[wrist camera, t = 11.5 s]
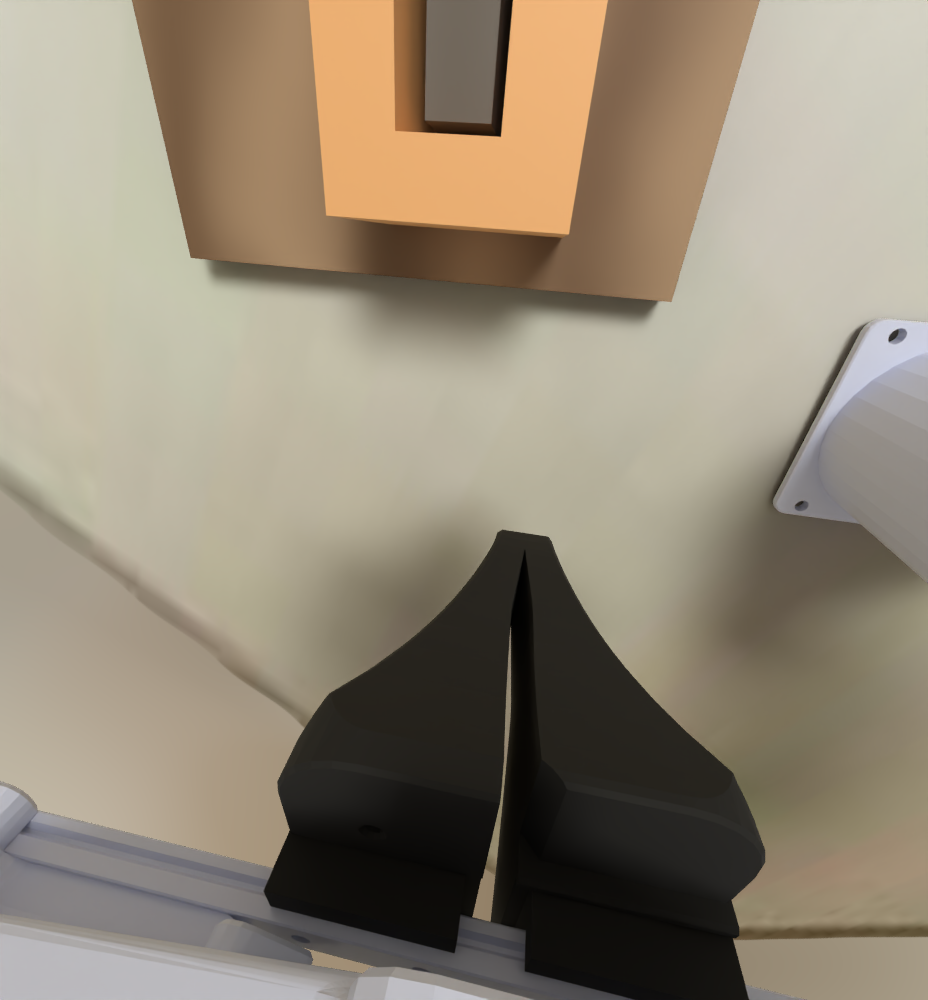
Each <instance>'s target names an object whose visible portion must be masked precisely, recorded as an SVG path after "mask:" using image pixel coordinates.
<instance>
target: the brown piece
mask: <svg viewBox="0 0 928 1000" xmlns="http://www.w3.org/2000/svg"><path fill="white" fill-rule="evenodd" d="M759 1H760V0H608V3H607V9H606V15H605V21H604V27H603V33H602V39H601V45H600V51H599V57H598V62H597V68H596V74H595V80H594V86H593V92H592V98H591V104H590V110H589V116H588V122H587V128H586V134H585V140H584V146H583V152H582V158H581V164H580V170H579V176H578V182H577V188H576V194H575V200H574V206H573V212H572V218H571V224H570V230H569V235H567V236H565V237H563V238H558V237H545V236H533V235H520V234H507V233H495V232H482V231H469V230H457V229H444V228H431V227H418V226H406V225H393V224H384V223H377V222H369V221H362V220H355V219H348V218H341V217H333V216H326V207H325V194H324V182H323V170H322V158H321V145H320V133H319V121H318V109H317V96H316V84H315V72H314V60H313V47H312V35H311V23H310V11H309V0H132V2H133V7H134V11H135V16H136V20H137V24H138V29H139V33H140V37H141V42H142V46H143V51H144V55H145V59H146V64H147V68H148V72H149V77H150V81H151V86H152V90H153V94H154V99H155V103H156V107H157V112H158V116H159V121H160V125H161V129H162V134H163V138H164V142H165V147H166V151H167V156H168V160H169V164H170V169H171V173H172V177H173V182H174V186H175V191H176V195H177V199H178V204H179V208H180V212H181V217H182V221H183V226H184V230H185V234H186V239H187V243H188V248H189V252H190V256H191V258H198V259H209V260H220V261H231V262H242V263H253V264H264V265H274V266H285V267H296V268H307V269H318V270H329V271H340V272H351V273H362V274H373V275H384V276H394V277H405V278H416V279H427V280H438V281H449V282H460V283H471V284H482V285H493V286H504V287H514V288H525V289H536V290H547V291H558V292H569V293H580V294H591V295H602V296H613V297H623V298H634V299H645V300H656V301H667V302H671V301H672V298H673V294H674V291H675V288H676V284H677V281H678V277H679V274H680V271H681V267H682V264H683V260H684V257H685V254H686V250H687V247H688V243H689V240H690V236H691V233H692V230H693V226H694V223H695V219H696V216H697V213H698V209H699V206H700V202H701V199H702V196H703V192H704V189H705V185H706V182H707V178H708V175H709V172H710V168H711V165H712V161H713V158H714V155H715V151H716V148H717V144H718V141H719V138H720V134H721V131H722V127H723V124H724V120H725V117H726V114H727V110H728V107H729V103H730V100H731V97H732V93H733V90H734V86H735V83H736V80H737V76H738V73H739V69H740V66H741V62H742V59H743V56H744V52H745V49H746V45H747V42H748V39H749V35H750V32H751V28H752V25H753V22H754V18H755V15H756V11H757V8H758V4H759ZM512 7H513V0H427V19H426V80H425V121H426V122H427V123H428V124H429V125H430V126H431V127H432V128H433V129H434V130H435V131H436V132H437V133H441V134H459V135H477V136H495V137H501V132H502V120H503V109H504V98H505V86H506V75H507V64H508V52H509V41H510V30H511V18H512Z"/></svg>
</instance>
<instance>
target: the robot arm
mask: <svg viewBox="0 0 928 1000" xmlns="http://www.w3.org/2000/svg"><path fill="white" fill-rule="evenodd" d="M896 329H898V330H899V333H898V336H897V337H896V338H895V339H894V340H892V341H890V342H889V341H888V338H889V335H890V334H891V333H892V332H893V331H895V330H896ZM800 501H804V502H803V503H802V504H801V505H800V506H795V505H796V504H797V503H798V502H800ZM773 506H774V507H775V508H776V509H777V510H778V511H779V512H781V513H785V514H792V515H799V516H806V517H814V518H821V519H828V520H836V521H843V522H850V523H857V524H861V525H862V526H863V527H864V528H866V529H867V530H868V531H869V532H870V533H871V534H872V535H873V536H875V537H876V538H877V539H878V540H879V541H880V542H881V543H883V544H884V545H885V546H886V547H887V548H888V549H889V550H890V551H892V552H893V553H894V554H895V555H896V556H897V557H898V558H900V559H901V560H902V561H903V562H904V563H905V564H906V565H907V566H909V567H910V568H911V569H912V570H913V571H914V572H915V573H916V574H918V575H919V576H920V577H921V578H922V579H923V580H924V581H926V582H927V583H928V322H920V321H909V320H898V319H887V318H880V319H875V320H873V321H871V322H869V323H868V324H867V325H865V326H864V328H863V329H862V330H861V332H860V333H859V335H858V337H857V339H856V341H855V343H854V345H853V347H852V349H851V351H850V353H849V355H848V357H847V358H846V360H845V362H844V364H843V366H842V368H841V370H840V372H839V374H838V376H837V378H836V380H835V382H834V383H833V385H832V387H831V389H830V391H829V393H828V395H827V397H826V399H825V401H824V403H823V405H822V407H821V408H820V410H819V412H818V414H817V416H816V418H815V420H814V422H813V424H812V426H811V428H810V430H809V432H808V433H807V435H806V437H805V439H804V441H803V443H802V445H801V447H800V449H799V451H798V453H797V455H796V457H795V458H794V460H793V462H792V464H791V466H790V468H789V470H788V472H787V474H786V476H785V478H784V480H783V482H782V484H781V485H780V487H779V489H778V491H777V493H776V495H775V497H774V499H773ZM510 628H511V720H510V732H509V743H508V754H507V765H506V775H505V786H504V796H503V806H502V817H501V827H500V837H499V847H498V857H497V866H496V876H495V885H494V895H493V905H492V914H491V922H489V921H485V920H481V919H477V918H473V917H472V916H473V912H474V907H475V903H476V899H477V894H478V889H479V885H480V881H481V878H483V874H484V869H485V865H486V861H487V857H488V852H489V848H490V844H491V839H492V835H493V831H494V826H495V822H496V818H497V813H498V809H499V805H500V798H501V788H502V776H503V763H504V736H505V709H506V687H507V668H508V651H509V636H510ZM278 793H279V796H280V800H281V803H282V806H283V809H284V813H285V816H286V819H287V822H288V825H289V829H290V831H289V833H288V836H287V838H286V841H285V843H284V845H283V847H282V849H281V852H280V854H279V856H278V859H277V861H276V863H275V865H274V868H270V867H266V866H262V865H258V864H254V863H250V862H246V861H242V860H238V859H234V858H229V857H226V856H222V855H217V854H213V853H209V852H205V851H201V850H197V849H193V848H189V847H185V846H181V845H177V844H172V843H169V842H165V841H161V840H157V839H153V838H148V837H144V836H140V835H136V834H132V833H128V832H124V831H120V830H116V829H112V828H108V827H104V826H100V825H96V824H92V823H87V822H84V821H80V820H75V819H71V818H67V817H63V816H59V815H55V814H51V813H47V812H43V811H38V810H37V805H36V804H35V802H34V801H33V800H32V799H31V798H30V797H29V796H28V795H27V794H26V793H25V792H23V791H22V790H21V789H19V788H17V787H15V786H13V785H10V784H7V783H4V782H1V781H0V1000H805V999H801V998H797V997H793V996H789V995H785V994H781V993H777V992H773V991H769V990H765V989H761V988H757V987H752V986H748V985H745V983H744V979H743V975H742V971H741V968H740V964H739V960H738V956H737V953H736V949H735V945H734V942H733V938H737V937H738V936H739V925H738V922H737V918H736V915H735V911H734V908H733V904H732V901H731V900H732V899H733V898H734V897H735V896H736V895H737V894H738V893H739V892H740V891H741V890H743V889H744V888H745V887H746V886H747V885H748V884H749V883H750V882H751V881H752V880H753V879H754V878H755V877H756V876H757V874H758V873H759V871H760V870H761V868H762V866H763V865H764V863H765V849H764V846H763V843H762V841H761V838H760V835H759V832H758V830H757V827H756V824H755V821H754V819H753V816H752V814H751V811H750V809H749V807H748V804H747V802H746V800H745V798H744V796H743V794H742V792H741V790H740V788H739V786H738V784H737V781H736V779H735V777H734V774H733V773H732V772H731V771H730V770H729V769H728V768H727V767H726V766H724V765H723V764H722V763H721V762H720V761H719V760H718V759H716V758H715V757H714V756H713V755H712V754H711V753H710V752H709V751H707V750H706V749H705V748H704V747H703V746H702V745H701V744H700V743H698V742H697V741H696V740H695V739H694V738H693V737H692V736H690V735H689V734H688V733H687V732H686V731H685V730H684V729H683V728H682V727H681V726H680V725H679V724H678V723H677V722H676V721H675V720H674V719H673V718H672V717H671V716H670V715H669V714H668V713H667V712H666V711H665V710H664V709H663V708H662V707H661V706H659V705H658V704H657V703H656V701H655V700H654V699H653V698H652V697H651V696H650V695H649V694H648V693H647V692H646V690H645V689H644V688H643V687H642V686H641V685H640V684H639V683H638V682H637V680H636V679H635V678H634V677H633V676H632V675H631V674H630V673H629V671H628V670H627V669H626V668H625V667H624V665H623V664H622V663H621V662H620V660H619V659H618V658H617V657H616V655H615V654H614V653H613V651H612V650H611V649H610V647H609V646H608V645H607V643H606V642H605V641H604V639H603V638H602V636H601V635H600V634H599V632H598V631H597V629H596V628H595V626H594V625H593V623H592V622H591V620H590V618H589V617H588V615H587V613H586V612H585V610H584V609H583V607H582V605H581V603H580V602H579V600H578V598H577V596H576V595H575V593H574V591H573V589H572V587H571V585H570V583H569V581H568V579H567V577H566V575H565V573H564V571H563V569H562V567H561V565H560V562H559V560H558V558H557V555H556V553H555V550H554V547H553V544H552V541H551V540H550V538H549V537H546V536H540V535H533V534H526V533H520V532H513V531H507V530H501V531H500V532H498V533H497V536H496V539H495V541H494V543H493V545H492V547H491V549H490V551H489V552H488V554H487V556H486V557H485V559H484V560H483V562H482V563H481V565H480V566H479V568H478V569H477V570H476V572H475V573H474V575H473V576H472V577H471V579H470V580H469V581H468V582H467V583H466V585H465V586H464V587H463V588H462V590H461V591H460V592H459V593H458V594H457V596H456V597H455V598H454V599H453V600H452V601H451V602H450V603H449V604H448V605H447V606H446V608H445V609H444V610H443V611H442V612H441V613H440V614H439V615H437V616H436V617H435V618H434V619H433V620H432V621H431V622H430V623H429V624H428V625H427V626H426V627H424V628H423V629H422V630H421V631H420V632H419V633H418V634H417V635H415V636H414V637H413V638H412V639H410V640H409V641H408V642H407V643H405V644H404V645H403V646H401V647H400V648H399V649H397V650H396V651H395V652H393V653H392V654H390V655H389V656H388V657H386V658H385V659H384V660H382V661H381V662H379V663H378V664H377V665H375V666H374V667H372V668H371V669H369V670H368V671H366V672H364V673H363V674H361V675H359V676H358V677H356V678H354V679H353V680H351V681H350V682H348V683H346V684H345V685H343V686H341V687H340V688H338V689H336V690H335V691H333V692H331V693H330V694H329V695H328V696H327V697H326V698H325V700H324V701H323V702H322V704H321V705H320V707H319V708H318V709H317V711H316V712H315V714H314V715H313V717H312V718H311V720H310V721H309V723H308V724H307V726H306V727H305V729H304V730H303V732H302V734H301V735H300V737H299V739H298V741H297V743H296V745H295V747H294V749H293V751H292V753H291V755H290V757H289V759H288V761H287V763H286V765H285V767H284V769H283V771H282V773H281V775H280V777H279V780H278ZM302 947H303V948H302ZM304 948H307V949H310V950H314V951H318V952H322V953H326V954H329V955H333V956H337V957H341V958H344V959H348V960H352V961H356V962H360V963H363V964H367V965H371V966H375V967H376V968H369V969H368V970H366V971H365V972H364V973H357V972H351V971H345V970H338V969H333V968H327V967H320V966H314V965H311V964H312V961H313V958H312V955H311V952H310V951H309V950H306V949H304Z"/></svg>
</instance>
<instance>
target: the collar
mask: <svg viewBox="0 0 928 1000" xmlns="http://www.w3.org/2000/svg"><path fill="white" fill-rule="evenodd" d="M607 3H608V0H513V7H512V18H511V30H510V41H509V52H508V64H507V75H506V86H505V98H504V109H503V120H502V132H501V137H495V136H477V135H459V134H441V133H437V132H436V131H435V130H434V129H433V128H432V127H431V126H430V125H429V124H428V123H427V122H426V121H425V80H426V19H427V0H309V11H310V23H311V35H312V47H313V60H314V72H315V84H316V96H317V109H318V121H319V133H320V145H321V158H322V170H323V182H324V194H325V207H326V216H333V217H341V218H348V219H355V220H362V221H369V222H377V223H384V224H393V225H406V226H418V227H431V228H444V229H457V230H469V231H482V232H495V233H507V234H520V235H533V236H545V237H558V238H563V237H565V236H567V235H569V230H570V224H571V218H572V212H573V206H574V200H575V194H576V188H577V182H578V176H579V170H580V164H581V158H582V152H583V146H584V140H585V134H586V128H587V122H588V116H589V110H590V104H591V98H592V92H593V86H594V80H595V74H596V68H597V62H598V57H599V51H600V45H601V39H602V33H603V27H604V21H605V15H606V9H607Z"/></svg>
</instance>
